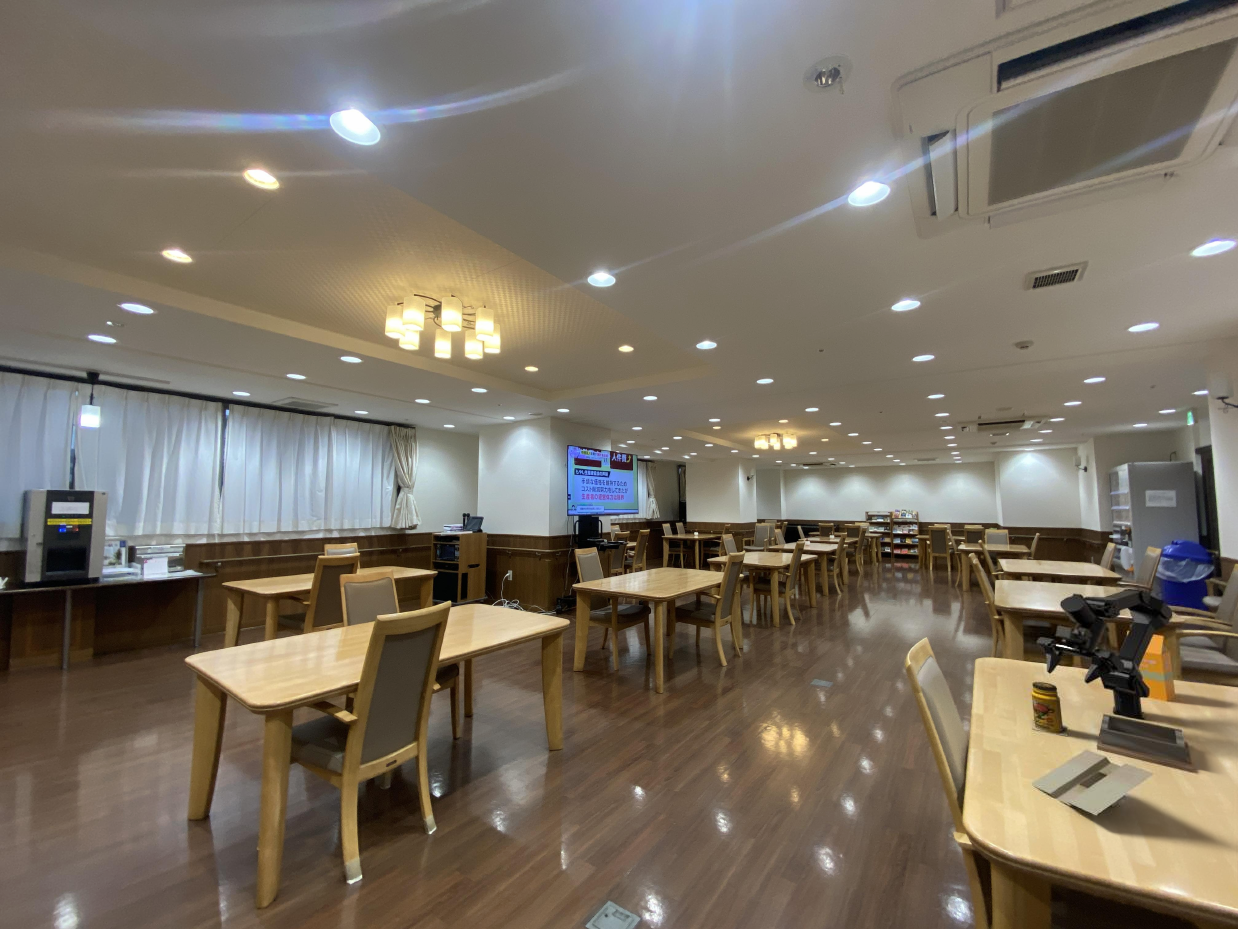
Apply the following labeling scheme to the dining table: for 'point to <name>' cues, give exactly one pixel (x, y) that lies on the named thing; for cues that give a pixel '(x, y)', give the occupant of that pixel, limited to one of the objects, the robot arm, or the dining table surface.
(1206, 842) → the dining table surface
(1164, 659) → the orange juice
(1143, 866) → the dining table surface
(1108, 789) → the grey slotted panel
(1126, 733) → the well caddy
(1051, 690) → the condiment
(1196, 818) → the dining table surface
